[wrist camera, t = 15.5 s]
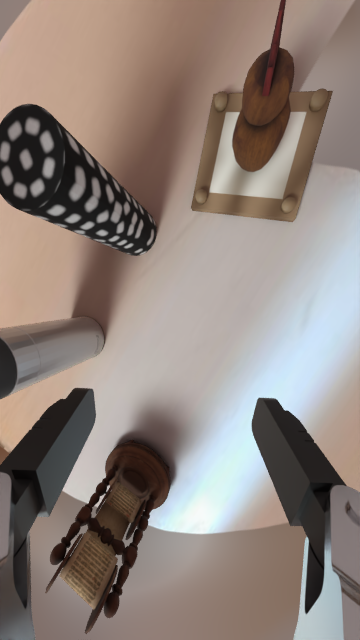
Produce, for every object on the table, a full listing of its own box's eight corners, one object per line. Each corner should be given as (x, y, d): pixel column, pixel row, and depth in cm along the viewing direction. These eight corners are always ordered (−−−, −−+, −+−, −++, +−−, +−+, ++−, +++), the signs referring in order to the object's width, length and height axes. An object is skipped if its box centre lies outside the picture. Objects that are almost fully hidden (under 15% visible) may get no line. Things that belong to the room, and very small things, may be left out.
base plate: (192, 210, 32) (189, 204, 30) (214, 101, 30) (213, 86, 27) (292, 222, 29) (297, 216, 27) (328, 99, 26) (336, 82, 24)
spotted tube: (110, 222, 37) (-21, 142, 17) (146, 200, 34) (41, 80, 15) (126, 262, 37) (13, 227, 18) (163, 243, 35) (79, 179, 15)
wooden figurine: (251, 123, 28) (274, -64, 13) (287, 139, 27) (353, -44, 12) (225, 170, 29) (220, 50, 15) (258, 186, 28) (287, 75, 14)
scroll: (103, 468, 45) (9, 597, 26) (127, 424, 42) (40, 534, 22) (153, 510, 43) (91, 684, 24) (184, 466, 39) (141, 630, 20)
